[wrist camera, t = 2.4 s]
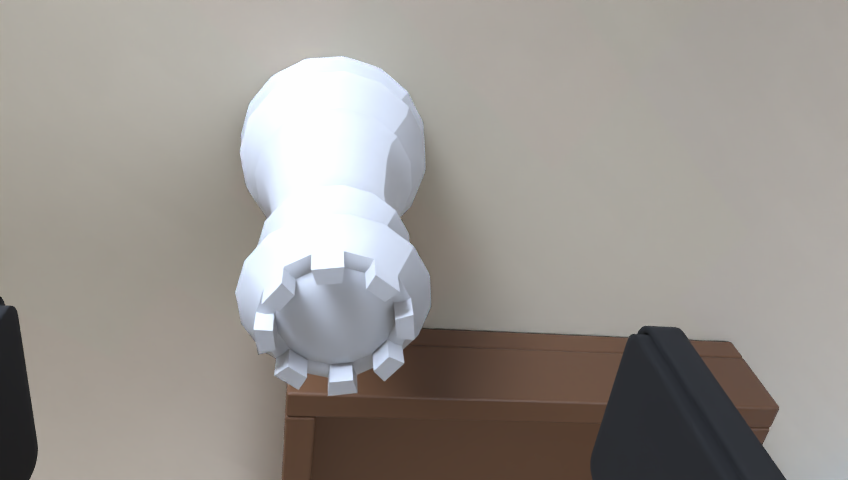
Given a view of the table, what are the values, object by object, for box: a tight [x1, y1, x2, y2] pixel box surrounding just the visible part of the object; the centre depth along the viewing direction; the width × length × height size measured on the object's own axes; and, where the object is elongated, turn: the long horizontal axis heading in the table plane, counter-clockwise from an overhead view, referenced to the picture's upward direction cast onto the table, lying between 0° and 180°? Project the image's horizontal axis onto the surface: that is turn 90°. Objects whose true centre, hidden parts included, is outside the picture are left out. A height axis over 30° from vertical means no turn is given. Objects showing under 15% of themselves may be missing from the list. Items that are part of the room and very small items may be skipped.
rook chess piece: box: [235, 56, 431, 396], centre depth 15 cm, size 4×4×8 cm
